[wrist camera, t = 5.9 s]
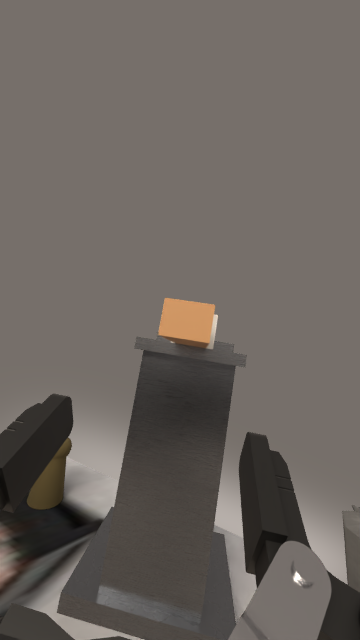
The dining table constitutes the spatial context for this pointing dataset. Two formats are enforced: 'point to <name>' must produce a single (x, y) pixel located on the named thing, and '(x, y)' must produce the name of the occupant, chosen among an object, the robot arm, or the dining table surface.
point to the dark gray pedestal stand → (165, 506)
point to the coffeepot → (352, 546)
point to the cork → (50, 481)
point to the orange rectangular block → (188, 323)
